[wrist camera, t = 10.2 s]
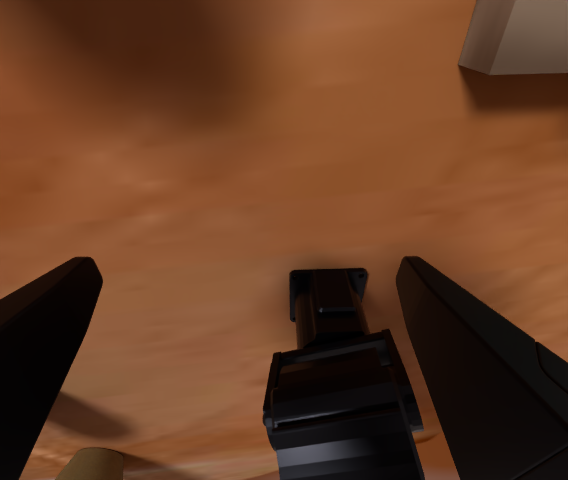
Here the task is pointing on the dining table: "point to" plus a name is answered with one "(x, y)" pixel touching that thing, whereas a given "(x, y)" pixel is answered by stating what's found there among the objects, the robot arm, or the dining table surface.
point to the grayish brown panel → (517, 37)
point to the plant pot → (93, 465)
